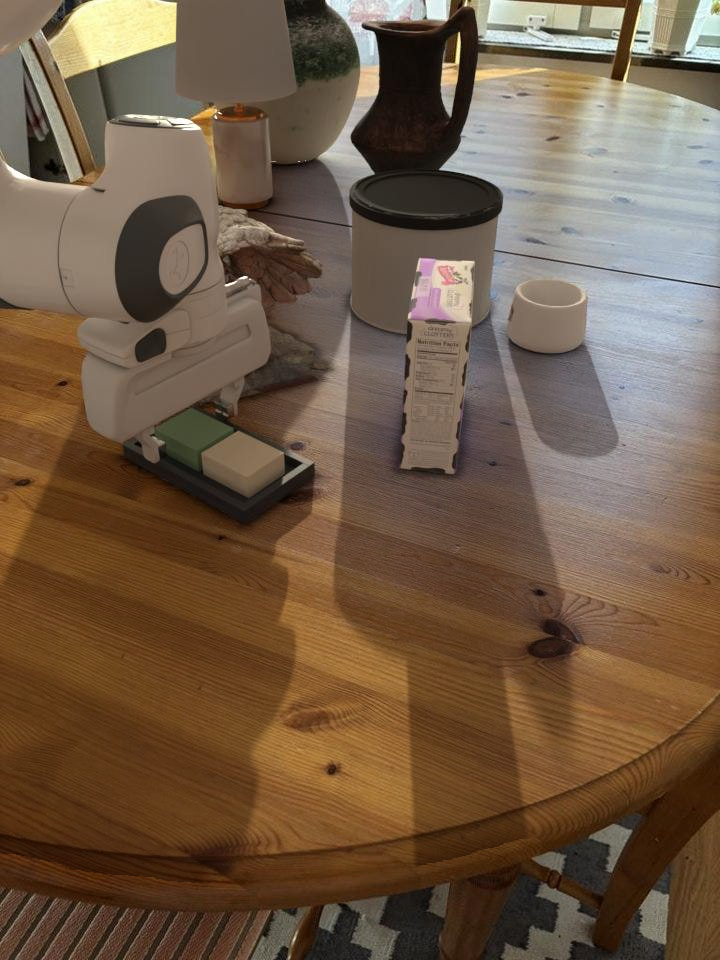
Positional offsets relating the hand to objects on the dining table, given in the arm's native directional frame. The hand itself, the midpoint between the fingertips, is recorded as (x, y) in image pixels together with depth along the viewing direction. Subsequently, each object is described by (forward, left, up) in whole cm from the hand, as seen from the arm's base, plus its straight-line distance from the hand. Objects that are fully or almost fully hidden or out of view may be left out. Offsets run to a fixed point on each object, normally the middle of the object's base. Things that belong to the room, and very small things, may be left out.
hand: (192, 436), depth 84 cm
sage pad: (0, 0, -2) cm, 2 cm away
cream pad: (0, -7, -2) cm, 7 cm away
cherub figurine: (+17, +11, -2) cm, 20 cm away
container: (+43, +3, -2) cm, 43 cm away
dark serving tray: (0, -3, -2) cm, 4 cm away
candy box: (+18, -16, -2) cm, 24 cm away
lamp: (+57, +49, -2) cm, 75 cm away
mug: (+46, -14, -2) cm, 48 cm away
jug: (+77, +29, -2) cm, 82 cm away
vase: (+81, +61, -2) cm, 101 cm away
